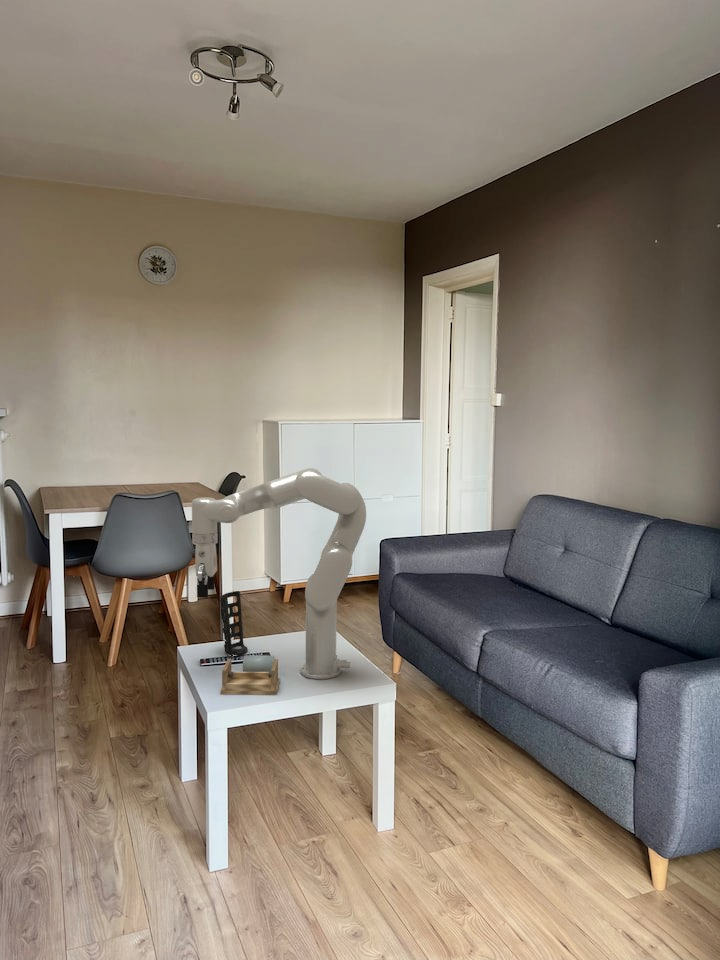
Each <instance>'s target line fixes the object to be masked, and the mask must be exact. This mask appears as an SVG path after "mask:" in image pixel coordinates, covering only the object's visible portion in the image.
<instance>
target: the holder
mask: <svg viewBox="0 0 720 960" xmlns="http://www.w3.org/2000/svg"><path fill="white" fill-rule="evenodd" d="M232 597H236V602H231V603H229V601H228V598H232ZM219 598H220V599H219V601H220V615H221V620H222V633H223V638H224V645H223V646H224V647H223V648H224V653H225V654H226V655H229V656H230V655H231V656H233V655H239V656H241V655H243V654H245V653H246V652H248V647H247V646H246V645H245V644H244V631H243V630H244V629H243V617H242V614H243V613H242V602H241V601H242V600H241V591H240V590H235V591H231V592H226V593H224V594H222V595H220V596H219ZM234 607H237V611H236V612H235V611H234ZM234 617H237V618H238V621H236V622H233V623H230V618H234ZM236 627H237V628H238V632H236ZM236 637H239V641H238V642H233V643H232V639H233V638H236ZM239 647H240V648H239ZM231 656H230V657H231Z"/></svg>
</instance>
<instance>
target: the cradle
mask: <svg viewBox="0 0 720 960" xmlns="http://www.w3.org/2000/svg"><path fill="white" fill-rule="evenodd" d="M280 680H281V679H280V677H279V659H278V658H274V663H273V667H272V670H271V672H243V671H232V658H227V660H226V662H225V664H224V666H223V668H222V670H221V689H220V691H219V693H220V695H257V696H258V695H259V696H260V695H263V696H264V695H269V696H271V695H273V696H274V695H277V693H278V690H279V686H280Z"/></svg>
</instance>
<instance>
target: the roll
mask: <svg viewBox="0 0 720 960" xmlns="http://www.w3.org/2000/svg"><path fill="white" fill-rule="evenodd" d="M274 660H275V655H262V654H261V655H258V654H257V655H250V654H249V655H248V654H247V655H243V660H242V672H271V670H272V667H273V663H274Z"/></svg>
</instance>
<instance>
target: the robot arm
mask: <svg viewBox="0 0 720 960" xmlns="http://www.w3.org/2000/svg"><path fill="white" fill-rule="evenodd" d="M303 500H307V501H309V502H311V503H313V504H315V505H317V506H320V507H322V508H324V509H327V510H329V511H332V512H333V513H336V514H338V516H337V521H336V522H335V525H334V527H333V531H332V532H331V534H330V536H329V538H328V540H327V542H326V544H325V546H324V547H323V549H322V551H321V553H320V554H321V555H320V558H319V560H318V563H317V566H316V568H315V570H314V572H313V574H311V575H310V576H309V577H308V579H307V581H306V584H305V589H304V590H305V591H304V598H305V664H304V665H302V666H301V667H300V674H301V675H302V676H304V677H305V678H309V679H313V680H314V679H315V680H323V679H324V680H327V679H332V678H335V677H338V676H339V675H340V674H341V673H342V669H351V661H348V660H347V659H339V658H338V655H337V623H338V622H337V618H338V617H337V612H338V611H337V610H338V606H337V605H338V598H339V596H340V593H341V591H342V589H343V588H344V585H345V583H346V581H347V579H348V576H349V575H350V572H351V570H352V567H353V555H354V553H355V550H356V547H357V545H358V544H359V541H360V538H361V536H362V534H363V532H364V529H365V525H366V520H367V509H366V508H367V507H366V503H365V500H364V498H363V496H362V494H361V493H360V491H359V490H358V488H357V487H356V486H354V485H353V484H351V483H349V482H342V483H340V482H338V481H335V480H333V479H331V478H328V477H327V476H324V475H323V474H322V473H321V471H319V470H318V469H317V468H316V469H315V468H305V469H301V470H299V471H296V472H293V473H291V474H287V475H284V476H282V477H278V478H275V479H273V480H269V481H267V482H266V481H265V482H264V483H262V484H259V485H256V486H253V487H250V488H246V489H243V490H241V491H237V492H235V493H232V494H229V495H227V496H225V497H224V498H222V499H216V498H213V497H205V496H203V497H197V498H194V499H192V501H191V522H192V523H191V526H192V527H191V533H192V534H191V536H192V539H191V540H192V544H193V545H195V553H194V554H195V556H194V557H195V560H194V561H195V576H196V577H197V579H196V580H197V581H196V598H198V599H200V598H201V599H202V598H203V599H207V598H208V597H209V590H213V591H214V590H215V574H216V573H217V572H218V563H217V562H218V559H217V558H218V557H217V546H216V544H218V542H219V541H218V539H219V538H218V523H222V524H232V523H235V522H237V521H238V520H239V518H241V517H243V516H245V515H249V514H252V513H254V512H258V511H261V510H265V509H271V510H272V509H280V508H281V507H284V506H285V507H286V506H287V505H290V504H293V503H296V502H299V501H303ZM341 668H342V669H341Z"/></svg>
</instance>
